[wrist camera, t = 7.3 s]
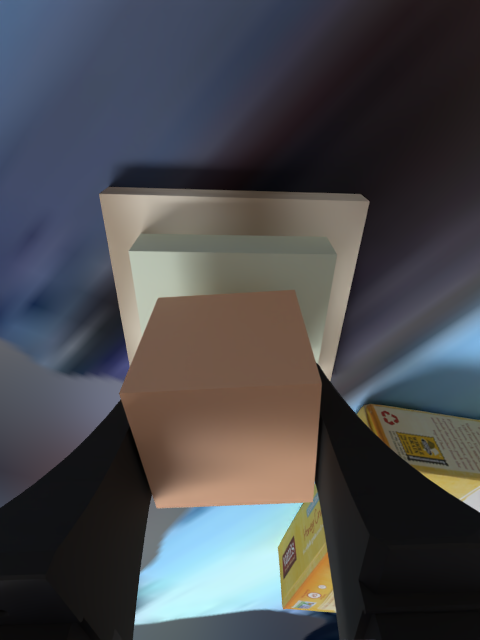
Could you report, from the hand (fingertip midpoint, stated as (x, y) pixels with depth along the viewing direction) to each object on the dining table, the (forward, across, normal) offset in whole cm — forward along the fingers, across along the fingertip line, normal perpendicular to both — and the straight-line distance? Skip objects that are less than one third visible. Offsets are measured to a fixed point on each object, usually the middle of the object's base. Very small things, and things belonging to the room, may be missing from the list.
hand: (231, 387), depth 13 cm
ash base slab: (+7, 0, 0) cm, 7 cm away
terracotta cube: (+2, 0, 0) cm, 2 cm away
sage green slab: (+5, 0, 0) cm, 5 cm away
